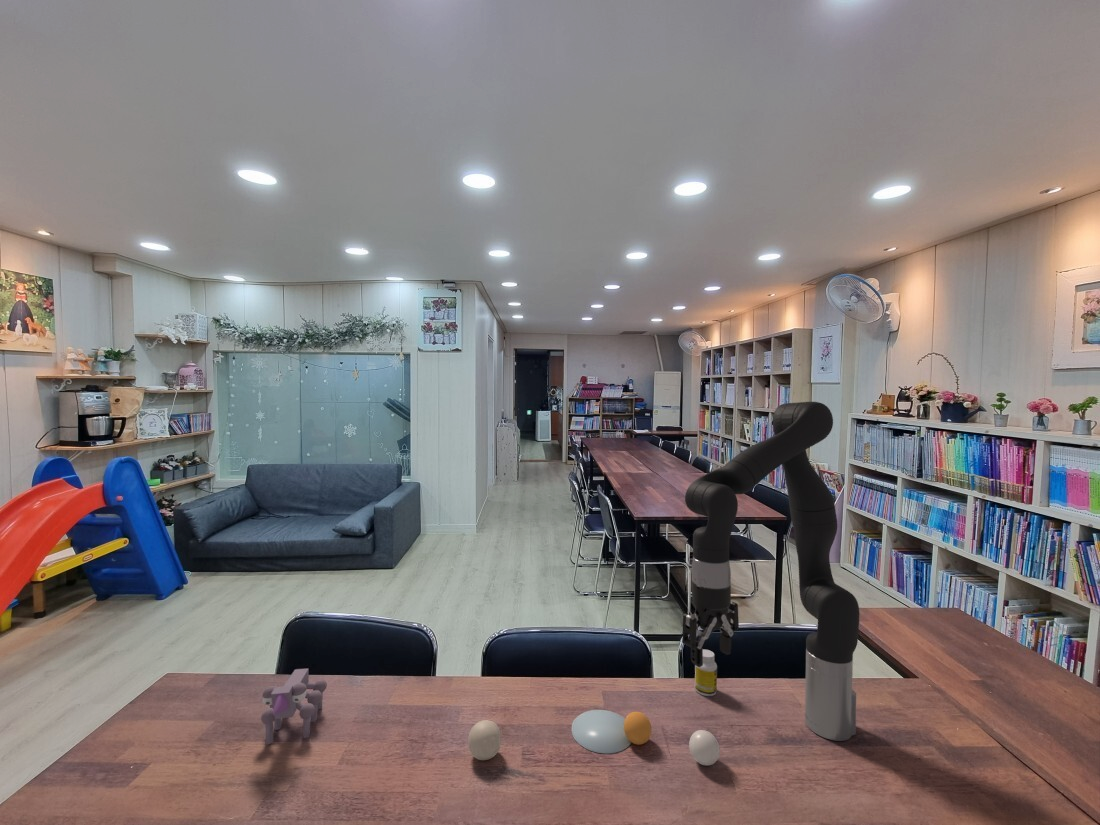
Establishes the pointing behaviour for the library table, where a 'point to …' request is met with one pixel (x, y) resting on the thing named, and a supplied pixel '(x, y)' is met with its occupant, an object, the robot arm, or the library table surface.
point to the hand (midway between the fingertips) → (711, 658)
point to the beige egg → (484, 740)
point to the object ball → (637, 728)
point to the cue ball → (704, 747)
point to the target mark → (600, 731)
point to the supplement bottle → (706, 675)
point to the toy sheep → (292, 702)
